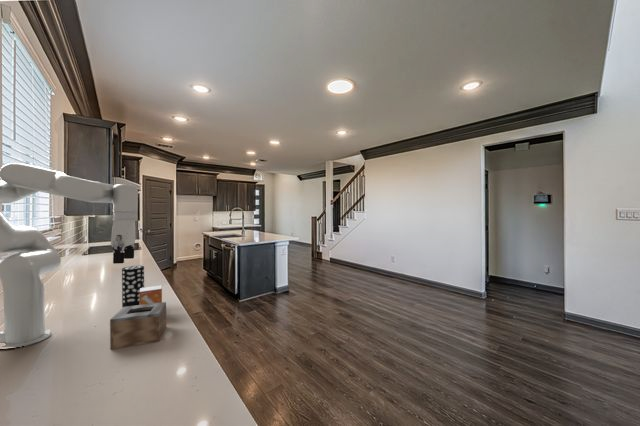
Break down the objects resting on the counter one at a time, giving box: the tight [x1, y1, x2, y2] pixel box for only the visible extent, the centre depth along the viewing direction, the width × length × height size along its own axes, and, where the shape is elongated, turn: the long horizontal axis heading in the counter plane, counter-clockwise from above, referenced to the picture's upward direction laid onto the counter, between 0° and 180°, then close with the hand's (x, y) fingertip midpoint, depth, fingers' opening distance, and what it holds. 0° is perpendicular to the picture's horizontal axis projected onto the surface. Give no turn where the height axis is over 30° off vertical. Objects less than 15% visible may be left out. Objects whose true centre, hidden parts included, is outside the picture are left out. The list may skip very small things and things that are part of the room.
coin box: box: [109, 301, 167, 350], centre depth 92 cm, size 14×12×10 cm
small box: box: [139, 285, 163, 305], centre depth 109 cm, size 8×6×13 cm
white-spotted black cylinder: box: [121, 265, 145, 309], centre depth 117 cm, size 8×8×20 cm
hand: (124, 260), depth 97 cm, fingers open, 9 cm apart
